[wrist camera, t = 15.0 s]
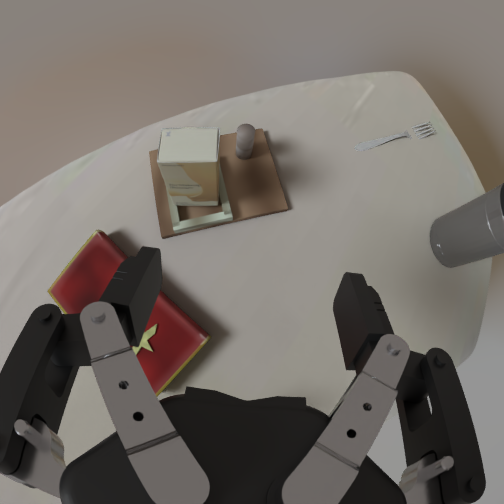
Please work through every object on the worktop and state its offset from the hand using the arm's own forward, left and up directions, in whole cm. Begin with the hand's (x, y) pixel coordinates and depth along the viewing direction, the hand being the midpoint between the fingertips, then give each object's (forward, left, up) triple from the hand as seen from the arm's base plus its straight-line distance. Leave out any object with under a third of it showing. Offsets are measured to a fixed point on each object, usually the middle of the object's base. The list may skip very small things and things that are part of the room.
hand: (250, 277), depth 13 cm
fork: (-34, -21, -28) cm, 49 cm away
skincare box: (+2, -15, -25) cm, 29 cm away
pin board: (-1, -18, -27) cm, 32 cm away
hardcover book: (+15, -1, -28) cm, 32 cm away
